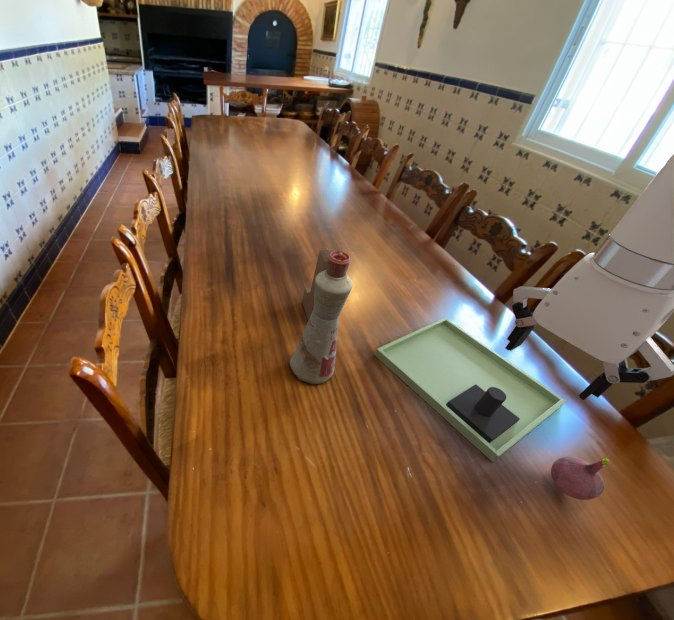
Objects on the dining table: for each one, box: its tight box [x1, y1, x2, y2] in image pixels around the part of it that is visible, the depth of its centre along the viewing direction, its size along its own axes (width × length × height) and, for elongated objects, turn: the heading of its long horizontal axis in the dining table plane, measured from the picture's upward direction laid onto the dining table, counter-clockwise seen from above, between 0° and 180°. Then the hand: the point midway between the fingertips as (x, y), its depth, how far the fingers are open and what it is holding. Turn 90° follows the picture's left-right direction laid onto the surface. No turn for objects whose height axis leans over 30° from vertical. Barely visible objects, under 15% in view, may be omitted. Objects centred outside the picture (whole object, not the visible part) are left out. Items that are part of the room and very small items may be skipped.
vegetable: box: [550, 456, 610, 501], centre depth 55 cm, size 6×6×10 cm
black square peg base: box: [446, 384, 520, 443], centre depth 65 cm, size 9×9×6 cm
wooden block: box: [301, 249, 339, 322], centre depth 82 cm, size 9×4×18 cm, turn 5°
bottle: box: [289, 250, 353, 385], centre depth 65 cm, size 9×9×28 cm
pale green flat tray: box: [374, 316, 567, 463], centre depth 74 cm, size 28×24×2 cm
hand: (546, 369), depth 49 cm, fingers open, 9 cm apart
